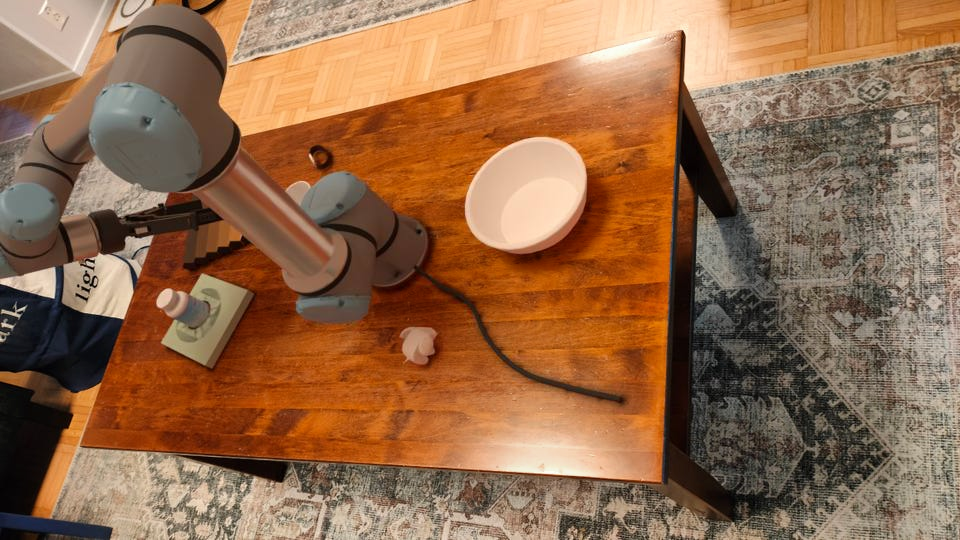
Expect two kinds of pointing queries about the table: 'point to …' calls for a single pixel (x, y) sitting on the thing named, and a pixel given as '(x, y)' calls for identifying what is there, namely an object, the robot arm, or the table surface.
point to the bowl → (527, 195)
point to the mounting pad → (210, 321)
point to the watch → (312, 151)
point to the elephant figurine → (418, 343)
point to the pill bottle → (184, 307)
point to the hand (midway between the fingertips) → (215, 208)
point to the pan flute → (210, 242)
